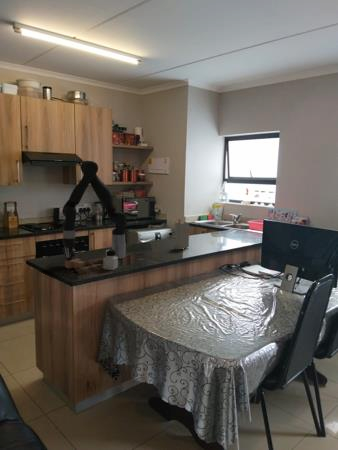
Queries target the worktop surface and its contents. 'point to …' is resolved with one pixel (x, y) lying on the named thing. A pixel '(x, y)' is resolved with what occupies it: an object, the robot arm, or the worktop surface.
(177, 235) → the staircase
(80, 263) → the T block
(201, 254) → the worktop surface
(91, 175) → the robot arm
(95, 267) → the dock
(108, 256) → the medicine bottle
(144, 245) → the worktop surface
